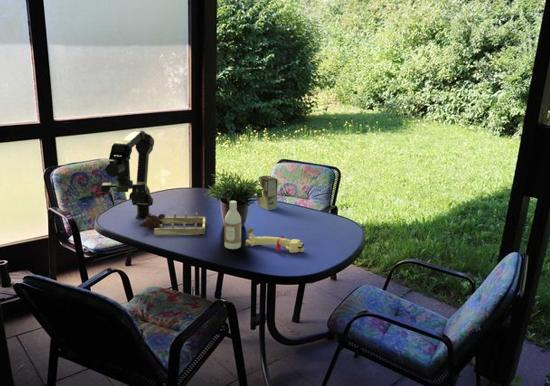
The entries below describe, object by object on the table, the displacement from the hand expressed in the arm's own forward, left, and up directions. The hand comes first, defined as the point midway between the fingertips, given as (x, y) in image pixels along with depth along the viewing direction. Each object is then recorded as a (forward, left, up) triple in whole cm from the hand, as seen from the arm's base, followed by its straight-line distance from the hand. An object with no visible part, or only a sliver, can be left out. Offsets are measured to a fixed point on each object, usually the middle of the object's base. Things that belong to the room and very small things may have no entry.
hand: (124, 205), depth 216 cm
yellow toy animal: (+22, +65, -13) cm, 70 cm away
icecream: (-2, +11, -13) cm, 17 cm away
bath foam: (+19, +47, -12) cm, 52 cm away
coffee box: (-31, +67, -12) cm, 75 cm away
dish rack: (-2, +24, -12) cm, 27 cm away
